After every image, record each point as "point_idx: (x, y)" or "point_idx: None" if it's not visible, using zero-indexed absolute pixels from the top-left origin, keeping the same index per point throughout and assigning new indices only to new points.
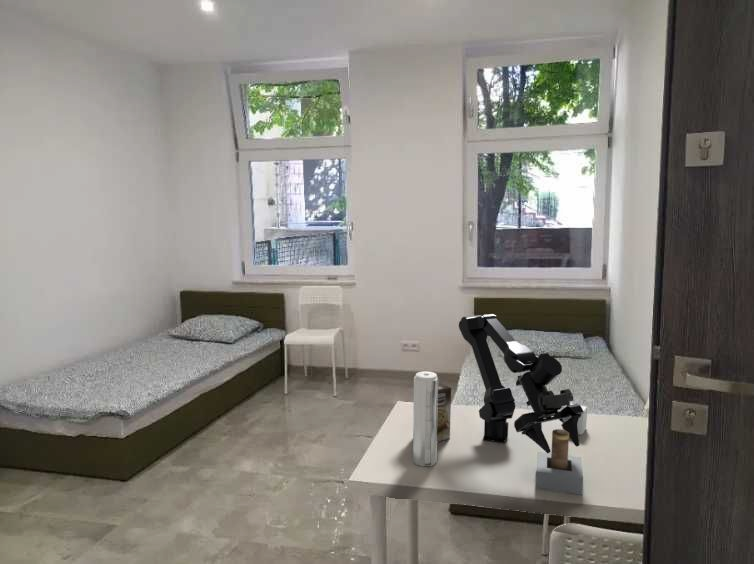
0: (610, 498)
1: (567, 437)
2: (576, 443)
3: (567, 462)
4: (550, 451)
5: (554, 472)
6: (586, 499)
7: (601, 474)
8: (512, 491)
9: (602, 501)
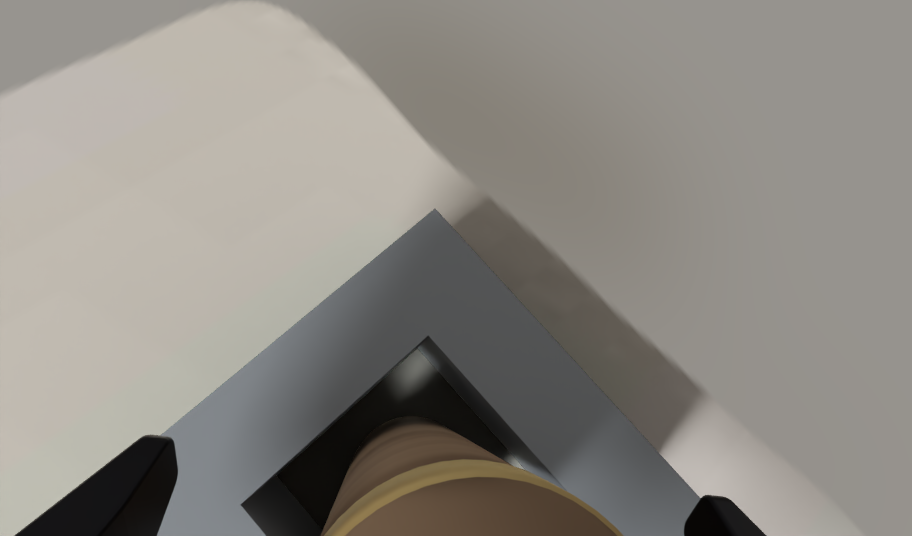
0: (297, 127)
1: (455, 468)
2: (157, 483)
3: (372, 445)
4: (709, 496)
5: (585, 404)
6: (442, 201)
7: (18, 369)
8: (802, 530)
9: (374, 134)
